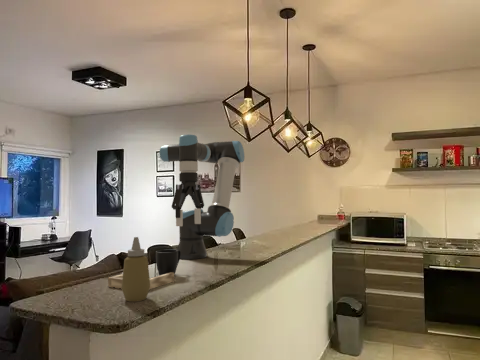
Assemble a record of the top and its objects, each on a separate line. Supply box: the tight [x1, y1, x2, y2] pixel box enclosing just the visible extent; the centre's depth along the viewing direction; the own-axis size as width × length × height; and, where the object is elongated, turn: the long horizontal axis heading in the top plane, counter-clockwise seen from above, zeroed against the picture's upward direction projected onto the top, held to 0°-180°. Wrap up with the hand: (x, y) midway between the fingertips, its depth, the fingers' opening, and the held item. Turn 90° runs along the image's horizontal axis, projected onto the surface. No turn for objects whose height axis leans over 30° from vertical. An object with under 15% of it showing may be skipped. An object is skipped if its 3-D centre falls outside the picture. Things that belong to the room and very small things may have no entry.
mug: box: [155, 248, 181, 277], centre depth 138 cm, size 8×12×10 cm
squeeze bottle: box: [121, 236, 150, 303], centre depth 106 cm, size 8×8×18 cm
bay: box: [107, 272, 175, 290], centre depth 125 cm, size 16×15×3 cm
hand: (188, 225), depth 149 cm, fingers open, 12 cm apart
